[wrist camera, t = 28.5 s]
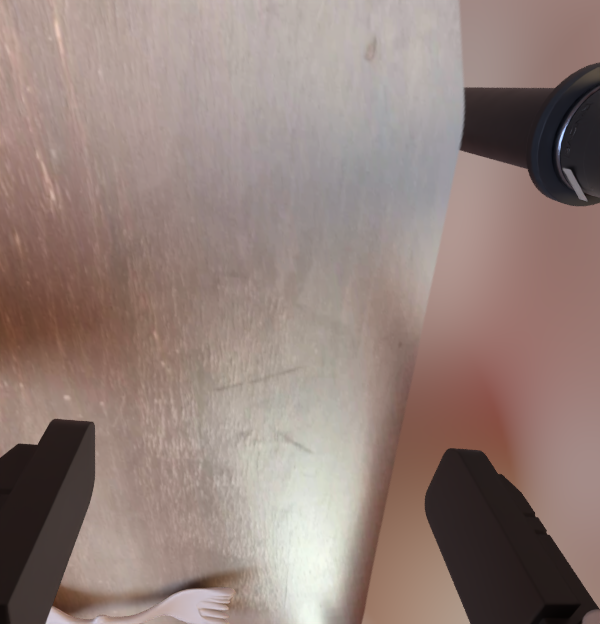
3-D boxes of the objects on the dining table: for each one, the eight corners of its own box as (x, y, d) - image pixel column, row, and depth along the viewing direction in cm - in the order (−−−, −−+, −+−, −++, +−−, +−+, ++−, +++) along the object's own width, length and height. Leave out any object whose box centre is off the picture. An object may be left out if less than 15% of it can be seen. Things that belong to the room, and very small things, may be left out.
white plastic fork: (230, 611, 60) (230, 639, 57) (-35, 630, 54) (-50, 663, 51) (234, 568, 56) (235, 596, 53) (-50, 584, 50) (-68, 617, 47)
